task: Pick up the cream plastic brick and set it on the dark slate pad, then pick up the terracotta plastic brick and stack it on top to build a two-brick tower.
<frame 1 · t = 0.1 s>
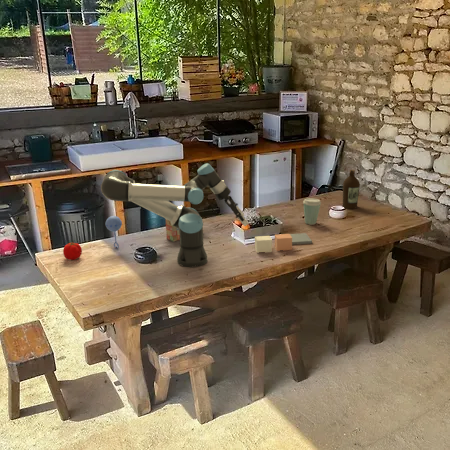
hand: (244, 220, 261), 15 cm above the table, tool tilted 35°, fingers open, 13 cm apart
baby rattle: (116, 247, 269), on the table
tomato: (73, 258, 257), on the table
olive oil: (349, 207, 329), on the table
stack of blocks: (184, 236, 285), on the table
terracotta brick: (283, 248, 264), on the table
cream brick: (263, 250, 262), on the table
disposable coffee cup: (311, 223, 301), on the table
slate pad: (298, 240, 275), on the table
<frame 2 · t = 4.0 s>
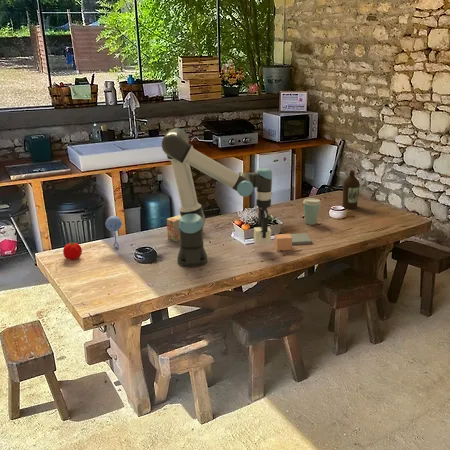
hand: (262, 240, 260), 5 cm above the table, tool pointing down, fingers closed on cream brick, 6 cm apart
cream brick: (262, 241, 260), point 5 cm above the table, touching gripper
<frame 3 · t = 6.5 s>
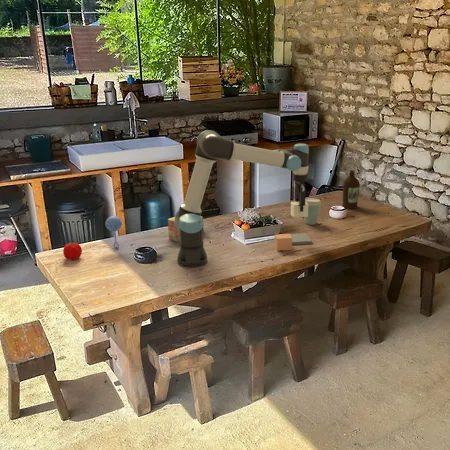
hand: (299, 214, 269), 15 cm above the table, tool pointing down, fingers closed on cream brick, 6 cm apart
cream brick: (299, 215, 270), point 14 cm above the table, touching gripper
when the fingers open (2 cm above the table, at t = 9.1 s): cream brick stays where it is, resting on slate pad.
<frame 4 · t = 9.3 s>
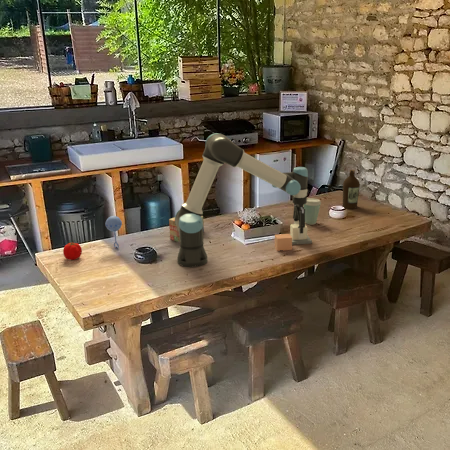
hand: (298, 235, 274), 3 cm above the table, tool pointing down, fingers open, 9 cm apart
cream brick: (298, 237, 274), point 1 cm above the table, touching slate pad
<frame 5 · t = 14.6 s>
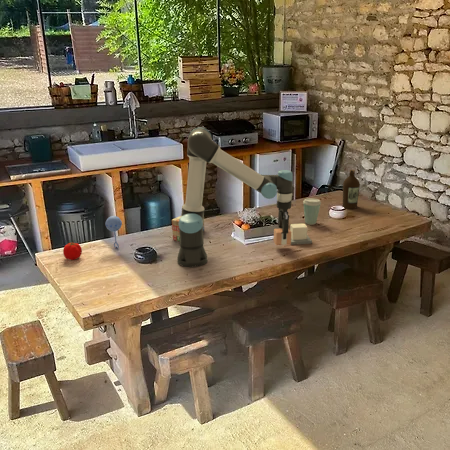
hand: (282, 241, 263), 4 cm above the table, tool pointing down, fingers closed on terracotta brick, 6 cm apart
terracotta brick: (282, 242, 263), point 3 cm above the table, touching gripper
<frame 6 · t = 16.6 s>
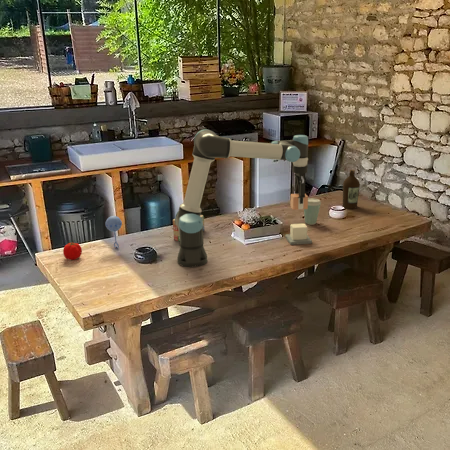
hand: (299, 207, 267), 20 cm above the table, tool pointing down, fingers closed on terracotta brick, 6 cm apart
terracotta brick: (298, 207, 267), point 19 cm above the table, touching gripper
when the fingers open (9 cm above the table, at t = 18.8 s): terracotta brick stays where it is, resting on cream brick.
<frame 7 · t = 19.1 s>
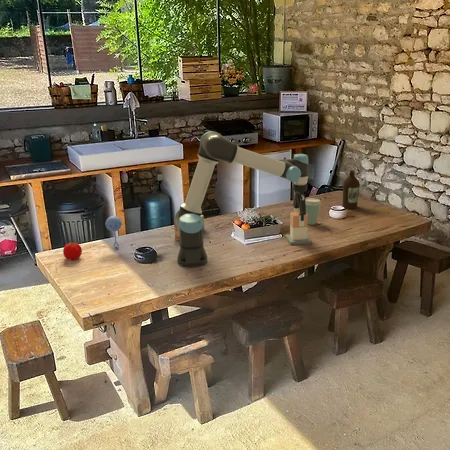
hand: (298, 222, 271), 10 cm above the table, tool pointing down, fingers open, 10 cm apart
terracotta brick: (298, 225, 272), point 8 cm above the table, touching cream brick
cream brick: (298, 237, 274), point 1 cm above the table, touching slate pad, terracotta brick
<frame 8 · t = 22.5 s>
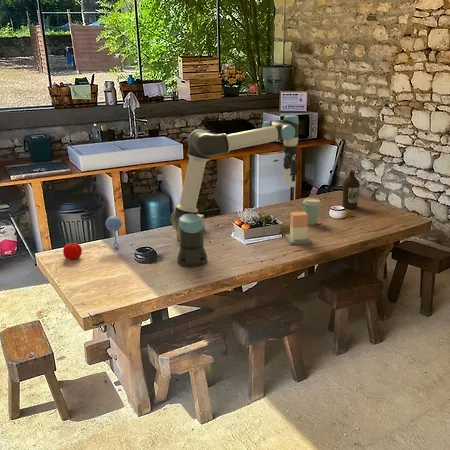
hand: (289, 183, 270), 31 cm above the table, tool pointing down, fingers open, 13 cm apart
at the end: cream brick 0.0 cm off-centre on the slate pad, point 1.5 cm above the slate pad's base; terracotta brick 0.1 cm off-centre on the slate pad, point 8.5 cm above the slate pad's base; terracotta brick tilted 0° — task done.
